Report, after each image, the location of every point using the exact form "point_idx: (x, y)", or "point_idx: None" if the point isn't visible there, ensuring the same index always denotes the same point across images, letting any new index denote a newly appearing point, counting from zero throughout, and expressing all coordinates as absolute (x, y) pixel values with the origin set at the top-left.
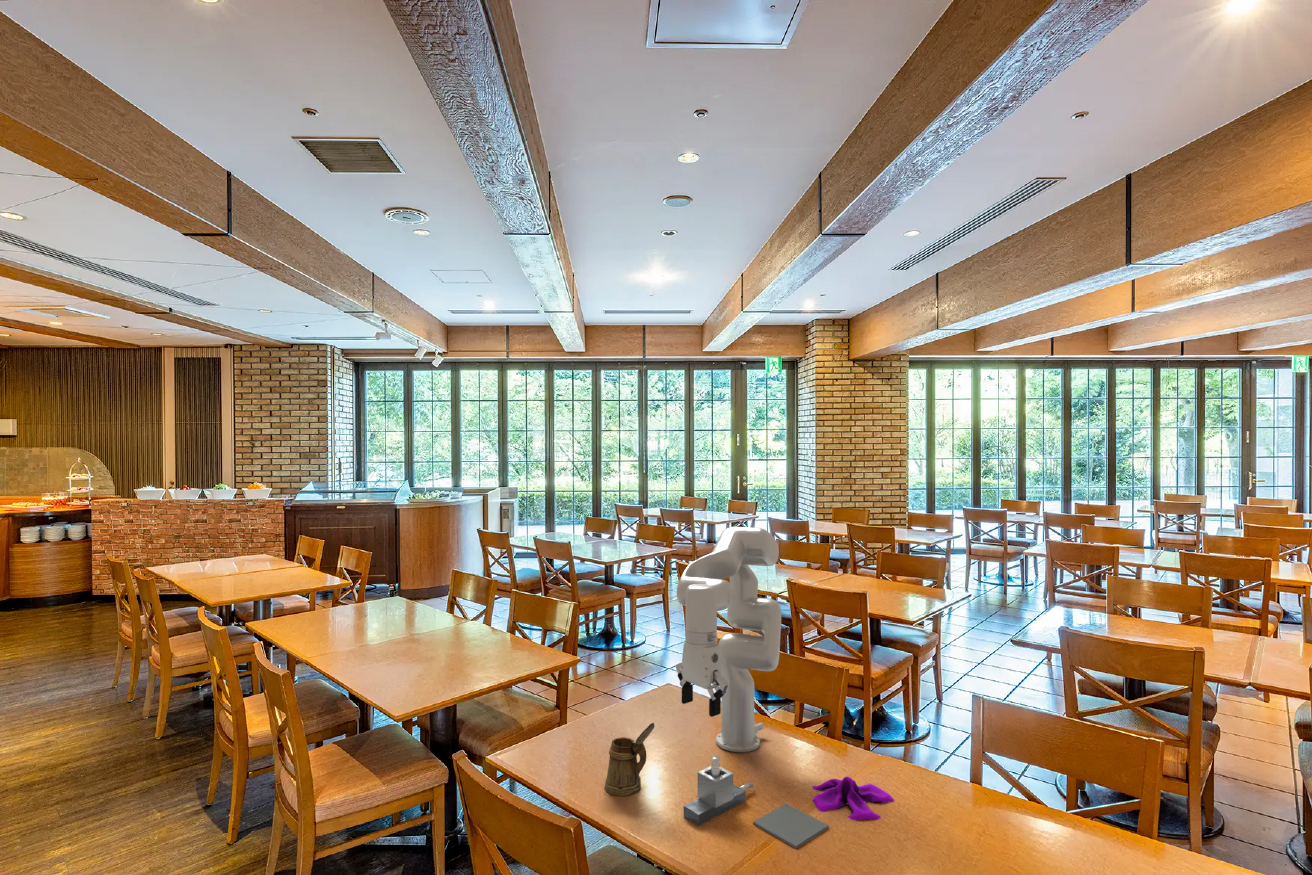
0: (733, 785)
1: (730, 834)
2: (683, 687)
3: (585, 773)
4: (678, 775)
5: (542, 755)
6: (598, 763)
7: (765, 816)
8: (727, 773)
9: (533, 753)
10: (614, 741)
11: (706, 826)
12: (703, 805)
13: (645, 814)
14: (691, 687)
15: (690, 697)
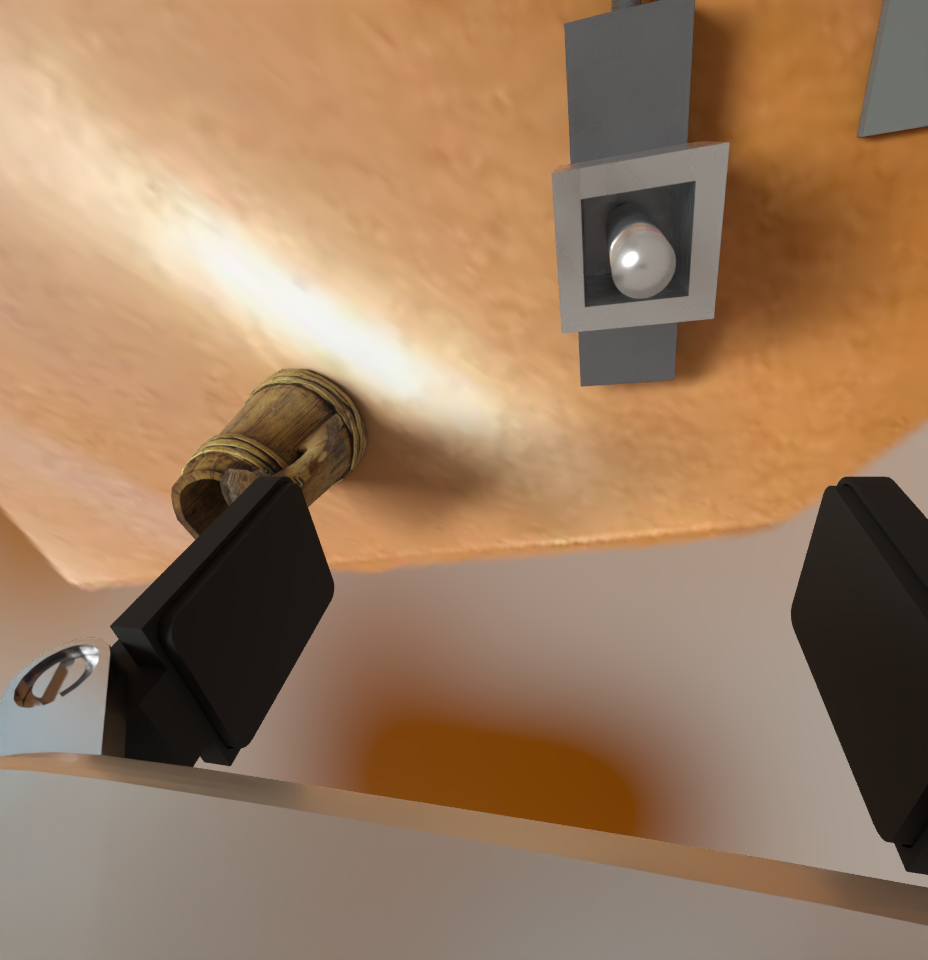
0: (597, 26)
1: (812, 294)
2: (221, 754)
3: None
4: (304, 188)
5: (69, 506)
6: (140, 407)
7: (898, 22)
8: (698, 182)
9: (55, 518)
10: (198, 529)
11: (693, 340)
12: None
13: (493, 461)
14: (197, 635)
15: (282, 542)
